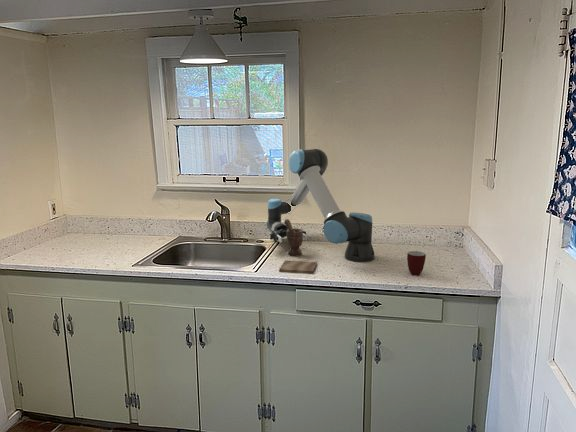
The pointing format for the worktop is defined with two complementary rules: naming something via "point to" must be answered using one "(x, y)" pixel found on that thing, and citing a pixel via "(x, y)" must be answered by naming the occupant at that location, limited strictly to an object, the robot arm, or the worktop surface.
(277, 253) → the worktop surface
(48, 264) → the worktop surface
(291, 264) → the walnut cutting board
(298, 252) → the mortar and pestle
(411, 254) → the mug
